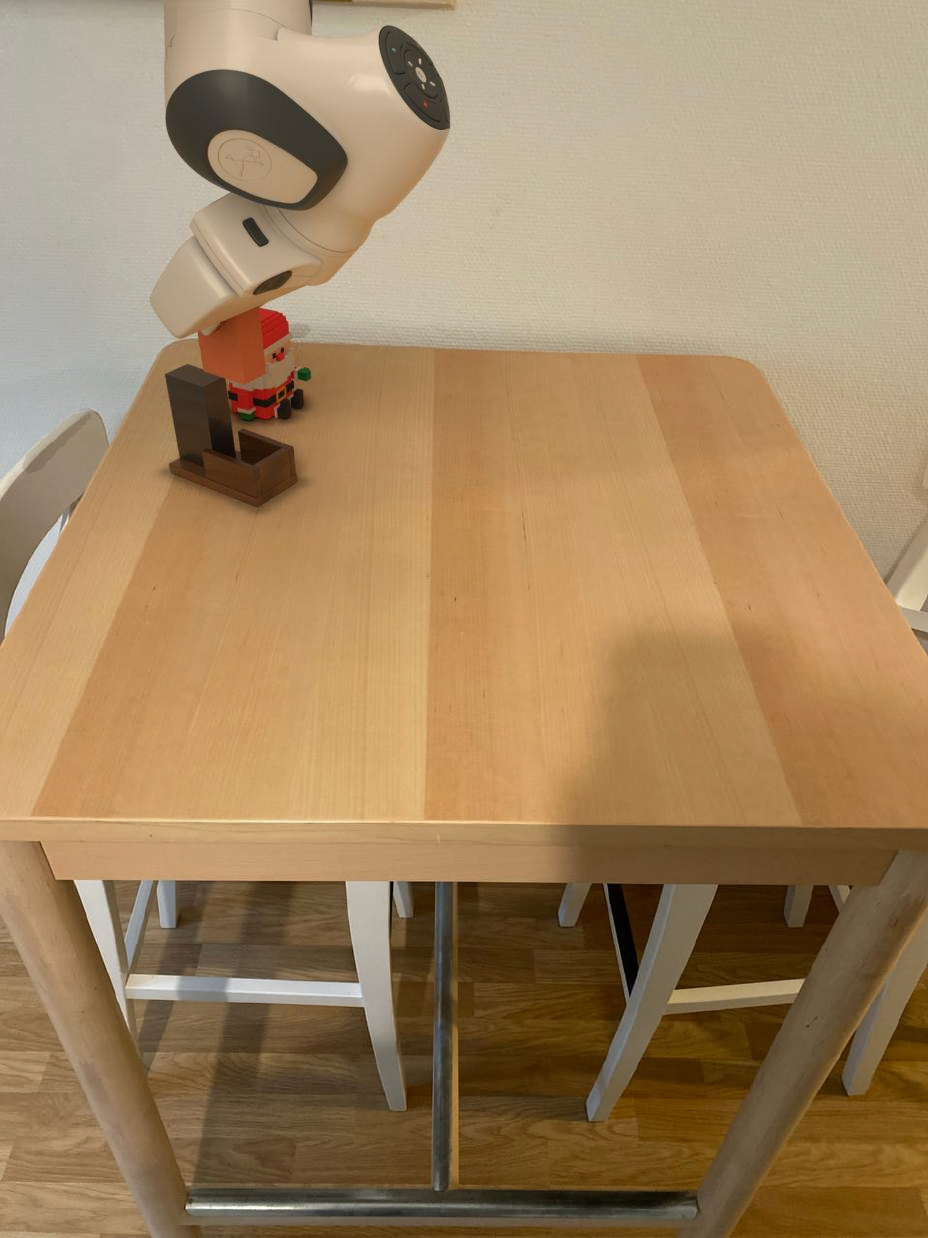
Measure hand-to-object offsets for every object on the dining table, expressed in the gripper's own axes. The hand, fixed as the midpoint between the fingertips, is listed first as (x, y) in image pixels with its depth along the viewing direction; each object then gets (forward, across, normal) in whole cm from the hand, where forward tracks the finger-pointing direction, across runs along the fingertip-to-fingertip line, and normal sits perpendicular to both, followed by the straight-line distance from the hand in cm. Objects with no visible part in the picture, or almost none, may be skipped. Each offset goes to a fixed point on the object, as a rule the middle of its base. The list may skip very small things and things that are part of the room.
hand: (222, 318), depth 80 cm
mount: (+13, 0, +11) cm, 17 cm away
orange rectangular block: (+3, 0, +4) cm, 5 cm away
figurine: (+18, -14, +5) cm, 24 cm away
